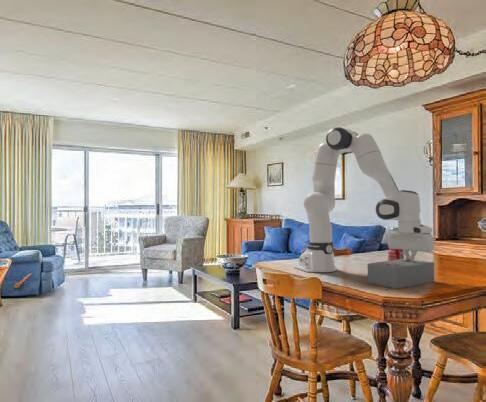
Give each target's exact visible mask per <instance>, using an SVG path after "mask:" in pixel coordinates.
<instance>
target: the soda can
mask: <svg viewBox="0 0 486 402" xmlns="http://www.w3.org/2000/svg"><path fill="white" fill-rule="evenodd" d="M398 259H405V254H404V252H403V249H393V248H389V249H388V251H387V261H391V260H398Z"/></svg>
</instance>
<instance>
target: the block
mask: <svg viewBox="0 0 486 402" xmlns="http://www.w3.org/2000/svg"><path fill="white" fill-rule="evenodd" d="M404 260H406V258H404V259H398V260H391V261H388V260H384V261H376V262H370V263H367V283H368V284H371V285H377V286H380V287H385V286H386V288H391V289H395V290H398V289H402V288H408V287H414V286H419V285H424V284H429V283H434V282H435V262H434V261H428V260H427V261H425V260H419V259H414V261H417V262H414V263H409V262H403V261H404ZM384 263H397V264H399V265H393V266H391V265H385V264H384Z"/></svg>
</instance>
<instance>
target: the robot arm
mask: <svg viewBox="0 0 486 402" xmlns="http://www.w3.org/2000/svg"><path fill="white" fill-rule="evenodd" d="M315 153H316V154H315V156H314V157H315V158H314V161H313V162H314V165H313V172H312V179H311V180H312V183H313V184H312V185H313V192H311V193H309V194H308V195H306V197H305V198H304V200H303V206H304V209H305V210H306V211H305V212H306V216H307V220H308V225H309V242H306V246H307V248H306V250H305V251H304V252H303V253H301V255H300V256H299V258H298V264H296V265H293V268H294V269H297V270H300V271H303V272H306V273H331V272H336V271H337V266H336V263H335V254H334V250H333V249H334V242H333V226H332V223H331V218H330V214H329V213H330V212H332V211H333V210H334V209H335V206H336V199H335V198H336V197H335V196H336V193H335V192H336V190H335V187H336V186H335V185H336V184H335V183H336V182H335V181H336V175H337V174H336V173H337V166H338V159H339V157H340V155H342V156H345V155H348V154H354V158H355V159H356V160H355V161H356V162H357V164H358V168H360V169H359V170H361V172H362V173H363V175H365V176H367V177H369V178H371V179H373V180H374V181H375V182H376V183H377V184H378V185H379V186H380V188H381V190H382V192H383V194H384V196H385V198H383V199H380V200H379V201H378V202H377V203H376V205H375V214H376V215H377V216H378V218H379V219H380V220H384V221H397V227H391V228H389V230H388V237H387V238H388V239H387V246H388V248H389V249H390V248H393V249H402V250H403V252H404V257H405V259H406V260H407V261H414V260H415V257H416V255H417V253H418V252H423V253H432V252H433V251H434V250H435V240H434V235H433V234H432V233H433V228H432V227H431V226H428V225H425V224H422V221H421V217H420V216H421V215H420V214H421V201H420V197H419V194H418V192H416V191H413V190H409V189H408V190H406V189H403V190H402V189H401V190H399V189H398V187H397V184H396V182H395V180H394V178H393V176H392V174H391V172H390V171H389V168H388V167H387V164H386V162H385V160H384V158H383V155H382V152H381V149H380V147H379V145H378V143H377V142H376V140H375V138H374V137H373V136H372V135H371V134H370V133H360V134H358V133H357V132H356V131H353V130H351V129H349V128H343V127H341V126H340V127H334V128H331V129H330V130H329V131H328V132H327V134H326V137H325V141H324V142H322V143H320V144H319V145H318V148H317V150H316V152H315ZM410 253H411V254H410Z"/></svg>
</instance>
